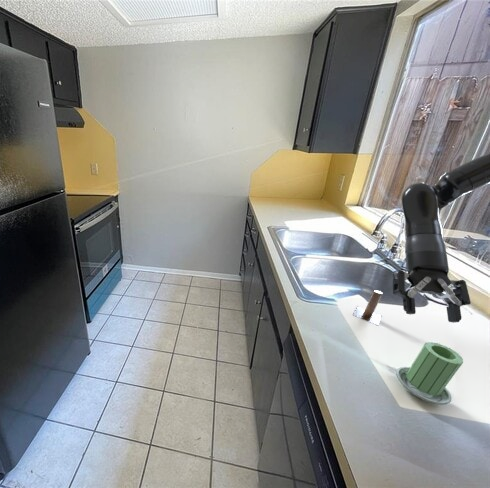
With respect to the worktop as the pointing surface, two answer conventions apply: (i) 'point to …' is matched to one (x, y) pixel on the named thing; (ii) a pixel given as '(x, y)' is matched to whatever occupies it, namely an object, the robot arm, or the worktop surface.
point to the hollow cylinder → (434, 368)
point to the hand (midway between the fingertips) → (432, 317)
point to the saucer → (438, 399)
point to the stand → (370, 309)
